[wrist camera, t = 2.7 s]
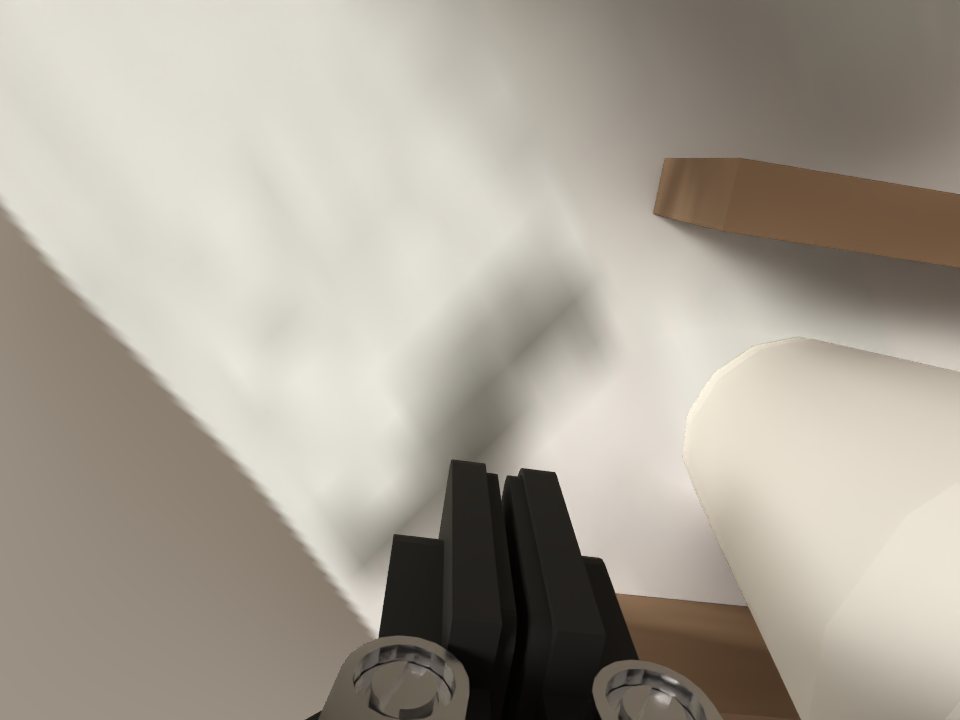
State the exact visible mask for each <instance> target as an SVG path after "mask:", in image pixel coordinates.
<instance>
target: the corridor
mask: <svg viewBox="0 0 960 720" xmlns="http://www.w3.org/2000/svg"><path fill="white" fill-rule="evenodd" d="M653 214H656V215H660V216H664V217H668V218H672V219H676V220H680V221H684V222H688V223H692V224H696V225H700V226H704V227H708V228H712V229H716V230H720V231H725V232H731V233H738V234H744V235H751V236H757V237H763V238H770V239H776V240H783V241H789V242H796V243H802V244H809V245H815V246H822V247H828V248H835V249H841V250H848V251H854V252H861V253H867V254H873V255H880V256H886V257H893V258H899V259H906V260H912V261H919V262H925V263H932V264H938V265H945V266H951V267H958V268H960V194H954V193H948V192H942V191H936V190H930V189H924V188H918V187H912V186H906V185H900V184H894V183H888V182H882V181H876V180H870V179H864V178H858V177H852V176H845V175H839V174H833V173H827V172H821V171H815V170H809V169H803V168H797V167H791V166H785V165H779V164H773V163H767V162H761V161H755V160H749V159H743V158H665V160H664V165H663V169H662V174H661V179H660V184H659V188H658V193H657V198H656V202H655V207H654V212H653ZM616 597H617V599H618V602H619V605H620V608H621V611H622V613H623V616H624V619H625V622H626V624H627V627H628V630H629V633H630V636H631V638H632V641H633V644H634V647H635V650H636V652H637V655H638V658H639V661H648V662H652V663H655V664H658V665H661V666H665V667H668V668H670V669H672V670H673V671H675V672H677V673H679V674H681V675H683V676H685V677H686V678H688V679H689V680H690V681H691V682H693V683H694V684H695V685H696V686H698V687H699V688H700V689H701V690H702V691H703V692H704V693H705V695H706V696H707V697H708V698H709V699H710V701H711V702H712V703H713V704H714V706H715V707H716V709H717V711H718V712H719V714H720V715H721V717H722V718H723V720H801V719H800V716H799V714H798V712H797V710H796V708H795V706H794V704H793V701H792V699H791V697H790V695H789V693H788V691H787V689H786V686H785V684H784V682H783V680H782V678H781V676H780V673H779V671H778V669H777V667H776V665H775V663H774V661H773V658H772V656H771V654H770V652H769V650H768V648H767V646H766V643H765V641H764V639H763V637H762V635H761V633H760V631H759V628H758V626H757V624H756V622H755V620H754V618H753V615H752V613H751V611H750V609H749V607H742V606H732V605H722V604H712V603H702V602H692V601H682V600H673V599H663V598H653V597H643V596H633V595H623V594H616Z"/></svg>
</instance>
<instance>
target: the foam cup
mask: <svg viewBox="0 0 960 720" xmlns="http://www.w3.org/2000/svg"><path fill="white" fill-rule="evenodd" d="M682 458H683V460H684V463H685V465H686V468H687V471H688V473H689V476H690V478H691V481H692V483H693V486H694V489H695V491H696V494H697V496H698V498H699V501H700V503H701V506H702V508H703V510H704V512H705V515H706V517H707V519H708V521H709V523H710V525H711V527H712V530H713V532H714V534H715V536H716V538H717V540H718V542H719V545H720V547H721V549H722V551H723V553H724V555H725V558H726V560H727V562H728V564H729V566H730V568H731V570H732V573H733V575H734V577H735V579H736V581H737V583H738V585H739V588H740V590H741V592H742V594H743V596H744V598H745V600H746V603H747V605H748V607H749V609H750V611H751V613H752V615H753V618H754V620H755V622H756V624H757V626H758V628H759V631H760V633H761V635H762V637H763V639H764V641H765V643H766V646H767V648H768V650H769V652H770V654H771V656H772V658H773V661H774V663H775V665H776V667H777V669H778V671H779V673H780V676H781V678H782V680H783V682H784V684H785V686H786V689H787V691H788V693H789V695H790V697H791V699H792V701H793V704H794V706H795V708H796V710H797V712H798V714H799V716H800V719H801V720H960V372H957V371H953V370H948V369H944V368H939V367H935V366H931V365H926V364H922V363H917V362H913V361H908V360H904V359H899V358H895V357H890V356H886V355H881V354H877V353H872V352H868V351H863V350H859V349H854V348H850V347H845V346H841V345H837V344H832V343H828V342H823V341H819V340H814V339H806V338H802V337H796V338H791V339H786V340H781V341H776V342H771V343H766V344H761V345H756V346H752V347H751V348H749V349H748V350H746V351H745V352H743V353H742V354H741V355H739V356H738V357H736V358H735V359H733V360H732V361H731V362H729V363H728V364H726V365H725V366H723V367H722V368H720V369H719V370H718V371H716V372H715V373H713V374H712V376H711V377H710V379H709V380H708V382H707V384H706V385H705V387H704V388H703V390H702V392H701V393H700V395H699V396H698V398H697V400H696V401H695V403H694V404H693V406H692V408H691V409H690V411H689V412H688V415H687V423H686V431H685V439H684V448H683V456H682Z"/></svg>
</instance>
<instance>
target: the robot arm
mask: <svg viewBox="0 0 960 720" xmlns="http://www.w3.org/2000/svg"><path fill="white" fill-rule="evenodd" d="M306 720H723V718H722V717H721V715H720V714H719V712H718V711H717V709H716V707H715V706H714V704H713V703H712V702H711V701H710V699H709V698H708V697H707V696H706V695H705V693H704V692H703V691H702V690H701V689H700V688H699V687H698V686H696V685H695V684H694V683H693V682H691V681H690V680H689V679H688V678H686V677H685V676H683V675H681V674H679V673H677V672H675V671H673V670H672V669H670V668H668V667H665V666H661V665H658V664H655V663H652V662H648V661H639V658H638V655H637V652H636V650H635V647H634V644H633V641H632V638H631V636H630V633H629V630H628V627H627V624H626V622H625V619H624V616H623V613H622V611H621V608H620V605H619V602H618V599H617V597H616V594H615V591H614V588H613V586H612V583H611V580H610V577H609V574H608V572H607V569H606V566H605V564H604V562H603V560H602V559H600V558H596V557H588V556H581V552H580V549H579V546H578V543H577V540H576V536H575V533H574V530H573V527H572V523H571V520H570V517H569V514H568V511H567V507H566V504H565V501H564V498H563V495H562V491H561V488H560V485H559V482H558V478H557V475H556V473H555V472H549V471H541V470H533V469H525V468H521V469H520V471H519V474H518V477H516V476H507V477H506V480H505V484H504V490H503V495H502V501H501V495H500V488H499V480H498V475H497V474H492V473H486V465H485V464H484V463H476V462H468V461H460V460H451V464H450V469H449V475H448V481H447V488H446V494H445V500H444V507H443V513H442V520H441V526H440V533H439V539H432V538H423V537H415V536H406V535H397V534H394V537H393V544H392V550H391V557H390V564H389V571H388V577H387V584H386V591H385V598H384V604H383V611H382V618H381V625H380V631H379V638H378V639H375V640H373V641H370V642H367V643H364V644H363V645H361V646H360V647H358V648H357V649H356V650H354V651H353V652H351V653H350V654H349V656H348V657H347V659H346V660H345V662H344V663H343V664H342V666H341V668H340V670H339V673H338V675H337V677H336V680H335V682H334V684H333V686H332V689H331V691H330V693H329V696H328V698H327V700H326V702H325V705H324V707H323V709H322V711H320V712H318V713H316V714H315V715H313V716H311V717H309V718H308V719H306Z"/></svg>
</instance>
